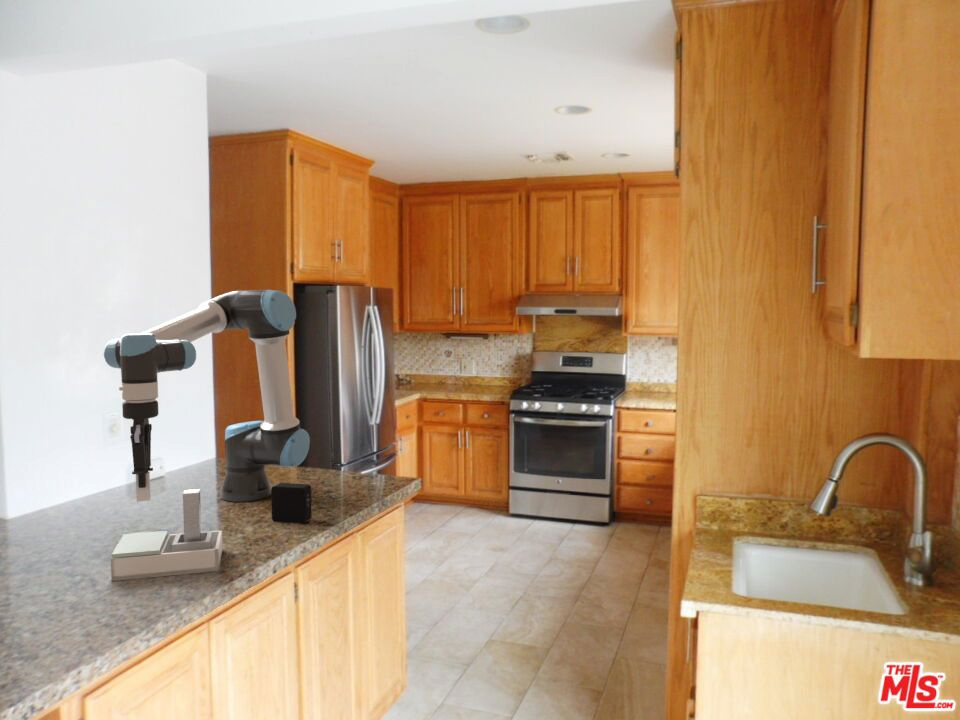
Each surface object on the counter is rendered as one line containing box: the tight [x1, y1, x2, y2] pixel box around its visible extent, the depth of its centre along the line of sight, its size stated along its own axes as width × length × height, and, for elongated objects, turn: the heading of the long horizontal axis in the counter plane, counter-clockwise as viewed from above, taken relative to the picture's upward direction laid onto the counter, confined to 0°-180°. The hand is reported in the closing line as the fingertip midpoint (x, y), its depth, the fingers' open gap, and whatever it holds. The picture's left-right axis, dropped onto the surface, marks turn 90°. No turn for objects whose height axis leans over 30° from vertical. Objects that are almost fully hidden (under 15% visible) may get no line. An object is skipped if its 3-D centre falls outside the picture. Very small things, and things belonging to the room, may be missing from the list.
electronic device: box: [270, 482, 312, 525], centre depth 198 cm, size 4×10×10 cm, turn 78°
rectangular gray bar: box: [182, 488, 202, 542], centre depth 166 cm, size 3×3×16 cm
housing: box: [110, 530, 224, 582], centre depth 165 cm, size 14×22×6 cm, turn 106°
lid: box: [110, 529, 169, 559], centre depth 163 cm, size 15×10×1 cm, turn 16°
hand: (143, 499), depth 167 cm, fingers closed
